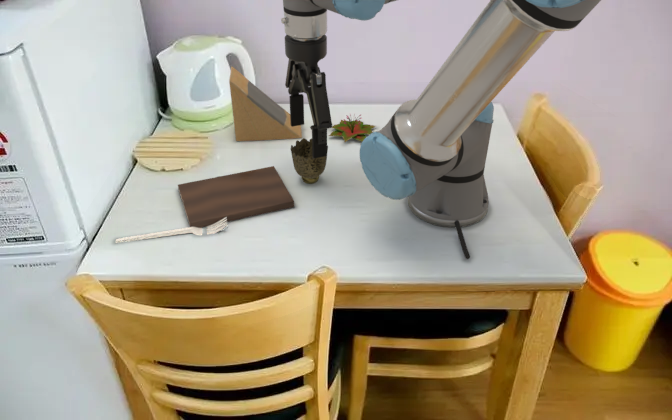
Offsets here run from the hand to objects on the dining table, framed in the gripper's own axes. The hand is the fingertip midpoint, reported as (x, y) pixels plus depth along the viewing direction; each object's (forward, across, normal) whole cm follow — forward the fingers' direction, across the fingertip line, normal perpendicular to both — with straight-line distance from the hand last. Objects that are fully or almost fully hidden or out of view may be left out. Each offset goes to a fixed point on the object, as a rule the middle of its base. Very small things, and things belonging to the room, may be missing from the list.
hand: (308, 140), depth 118 cm
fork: (+10, +8, -29) cm, 32 cm away
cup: (+10, 0, 0) cm, 10 cm away
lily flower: (+10, -16, +16) cm, 24 cm away
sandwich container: (+10, -24, -2) cm, 26 cm away
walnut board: (+9, +1, -16) cm, 18 cm away
